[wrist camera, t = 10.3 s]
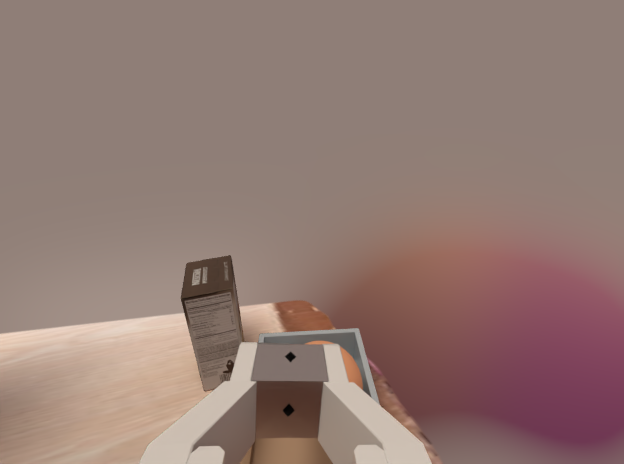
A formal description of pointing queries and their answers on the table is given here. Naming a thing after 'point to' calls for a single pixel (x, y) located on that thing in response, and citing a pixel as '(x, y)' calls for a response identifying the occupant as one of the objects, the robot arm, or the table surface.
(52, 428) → the table surface
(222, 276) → the coffee box
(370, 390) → the pale blue storage tray
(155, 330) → the table surface
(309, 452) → the brown wooden grooved block
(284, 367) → the robot arm
